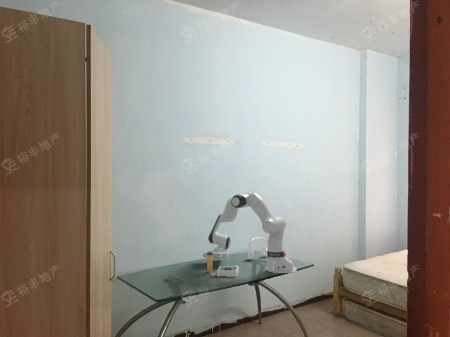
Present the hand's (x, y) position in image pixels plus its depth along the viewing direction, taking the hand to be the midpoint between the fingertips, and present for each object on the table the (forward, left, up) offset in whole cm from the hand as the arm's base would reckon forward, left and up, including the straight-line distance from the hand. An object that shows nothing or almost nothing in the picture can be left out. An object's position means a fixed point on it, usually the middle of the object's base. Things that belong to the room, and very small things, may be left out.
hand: (213, 256), depth 260 cm
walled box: (-13, +13, -9) cm, 21 cm away
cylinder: (+1, +10, -9) cm, 13 cm away
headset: (-32, -35, -9) cm, 49 cm away
